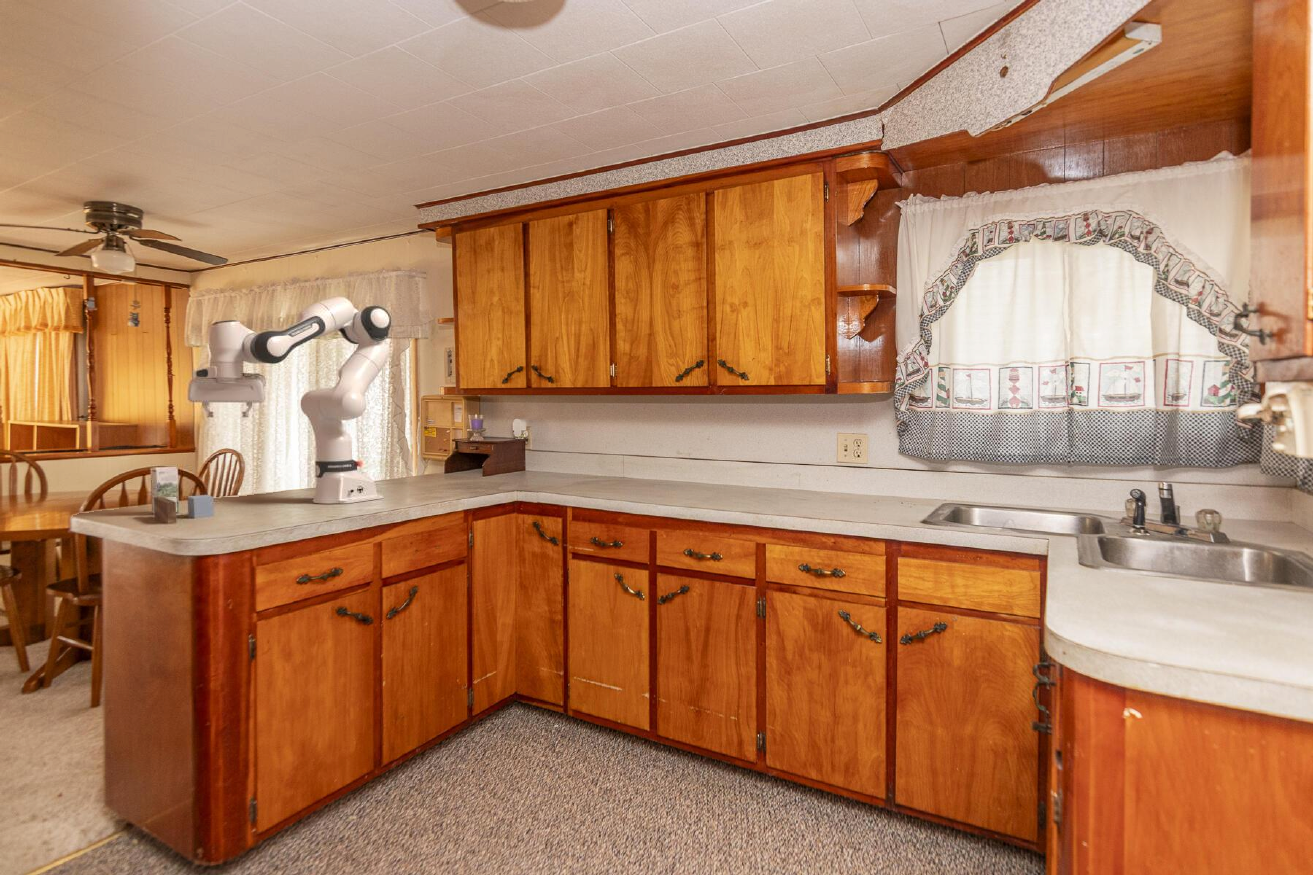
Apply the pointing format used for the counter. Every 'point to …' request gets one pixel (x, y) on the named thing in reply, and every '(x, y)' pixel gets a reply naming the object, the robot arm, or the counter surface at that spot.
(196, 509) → the blue block
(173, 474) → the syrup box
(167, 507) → the walnut board
